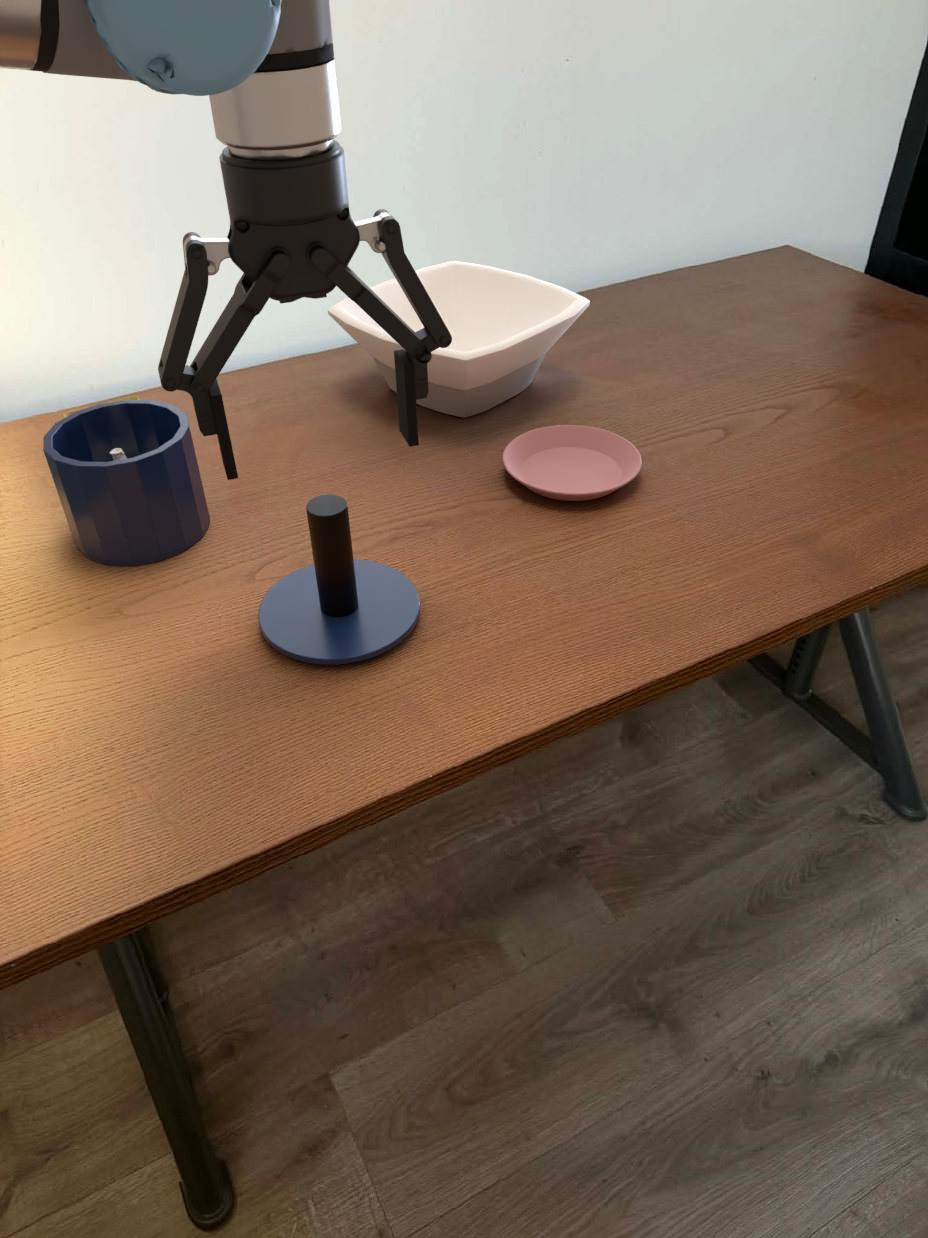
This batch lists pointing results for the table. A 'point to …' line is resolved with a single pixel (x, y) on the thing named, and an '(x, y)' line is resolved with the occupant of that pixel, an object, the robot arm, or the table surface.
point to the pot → (128, 481)
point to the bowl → (471, 332)
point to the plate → (572, 462)
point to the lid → (337, 598)
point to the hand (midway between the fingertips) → (321, 454)
